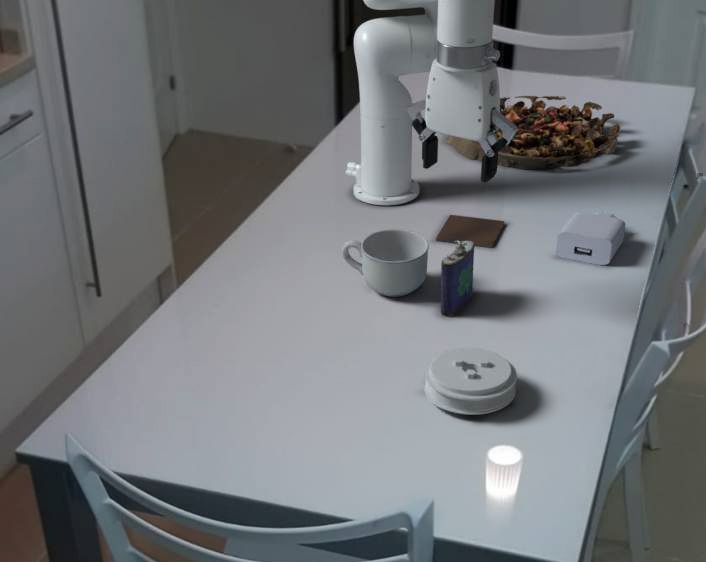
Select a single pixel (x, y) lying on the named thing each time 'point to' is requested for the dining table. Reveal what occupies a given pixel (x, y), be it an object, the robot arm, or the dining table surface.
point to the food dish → (547, 135)
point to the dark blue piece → (457, 278)
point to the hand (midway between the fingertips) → (458, 172)
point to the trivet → (470, 230)
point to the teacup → (391, 260)
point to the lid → (470, 381)
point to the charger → (591, 237)
